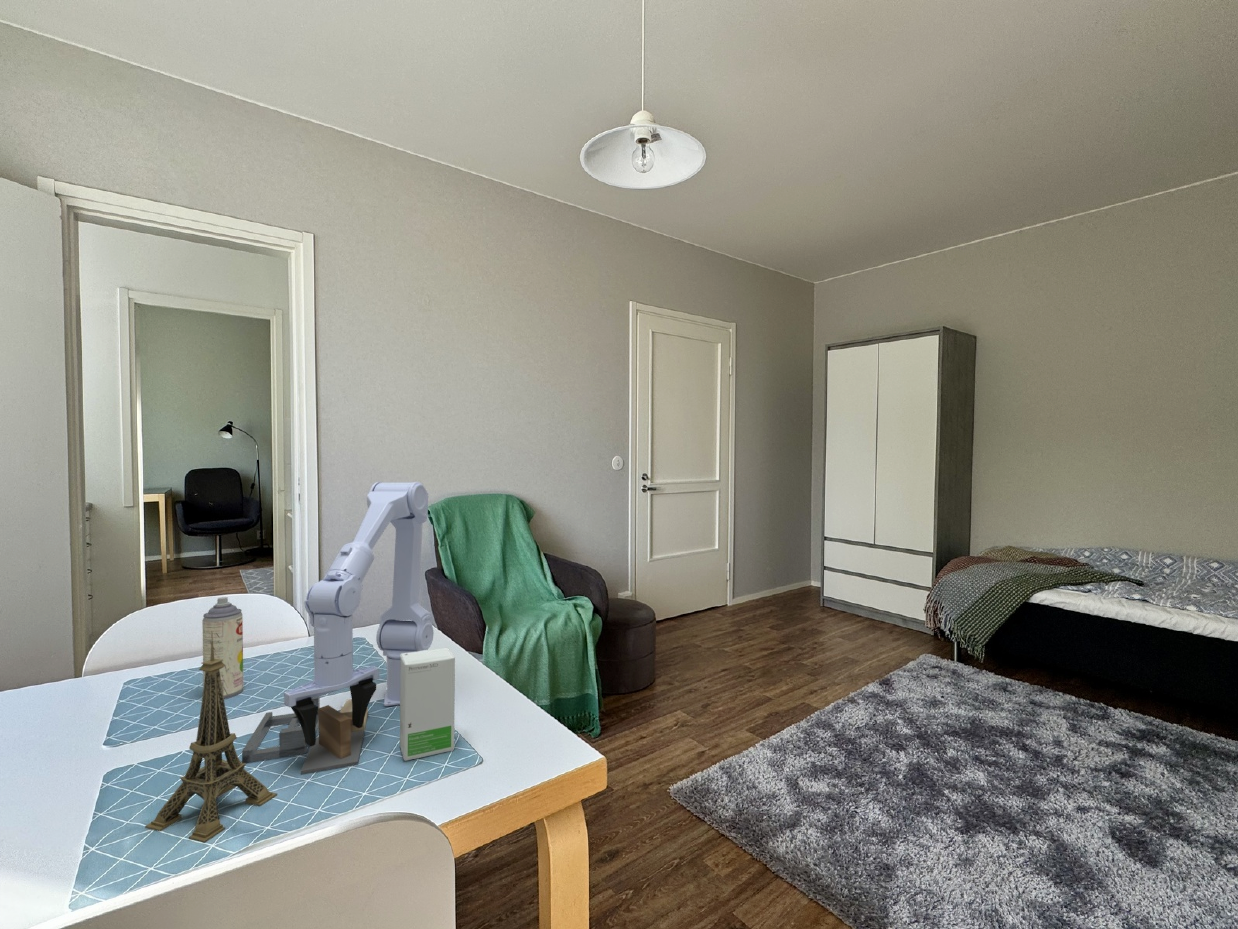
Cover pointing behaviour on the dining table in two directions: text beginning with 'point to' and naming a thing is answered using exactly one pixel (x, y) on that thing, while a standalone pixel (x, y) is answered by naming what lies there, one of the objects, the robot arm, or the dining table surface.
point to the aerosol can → (225, 644)
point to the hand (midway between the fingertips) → (334, 734)
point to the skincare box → (427, 703)
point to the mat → (332, 756)
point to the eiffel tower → (211, 764)
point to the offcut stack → (348, 712)
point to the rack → (288, 738)
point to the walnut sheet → (334, 731)
